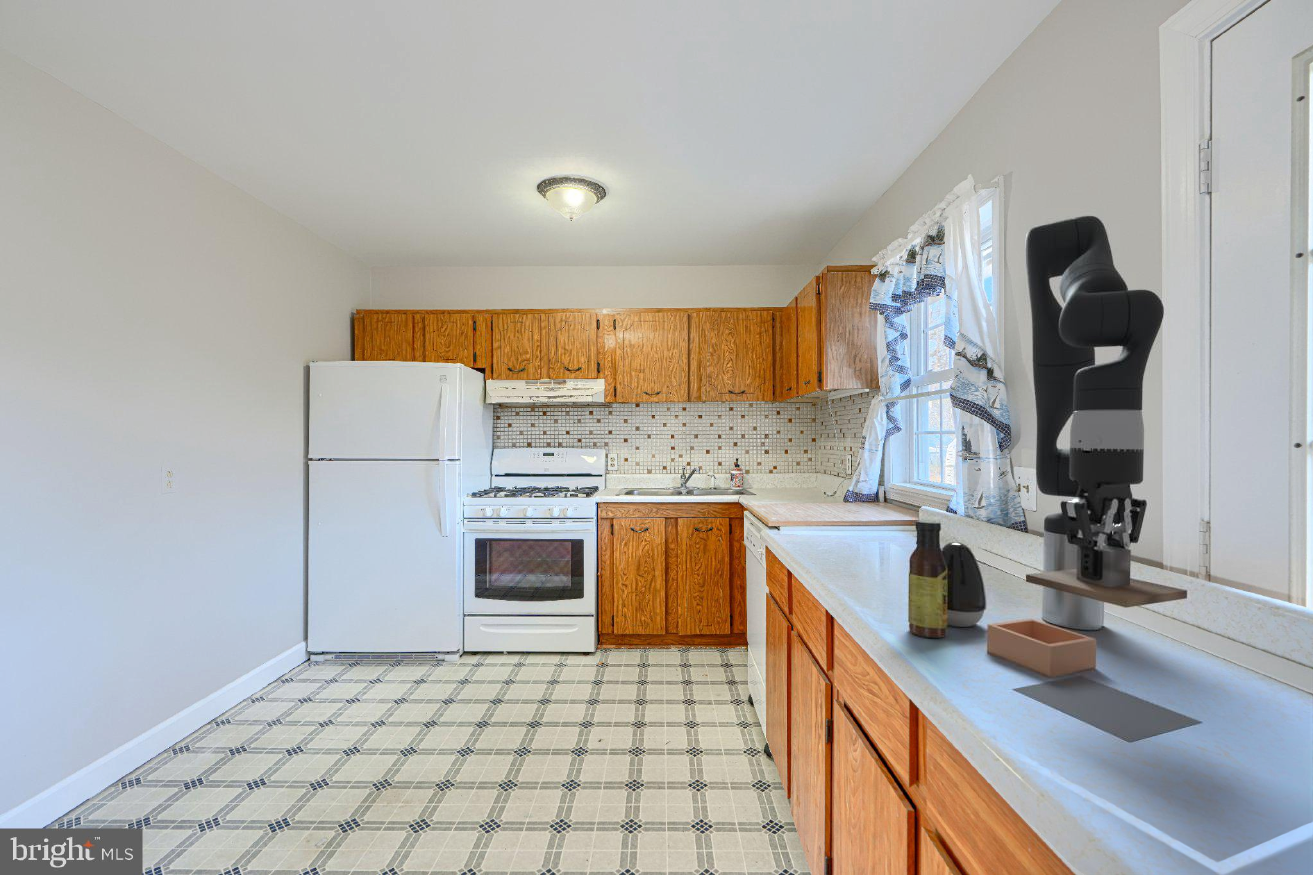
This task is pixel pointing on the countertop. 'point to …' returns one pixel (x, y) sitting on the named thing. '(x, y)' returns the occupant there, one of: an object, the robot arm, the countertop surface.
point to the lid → (1109, 582)
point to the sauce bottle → (927, 583)
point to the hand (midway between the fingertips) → (1102, 576)
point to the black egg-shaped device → (963, 586)
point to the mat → (1107, 708)
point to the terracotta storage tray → (1041, 647)
